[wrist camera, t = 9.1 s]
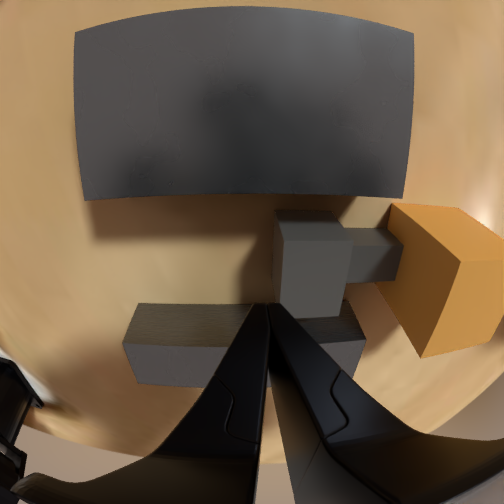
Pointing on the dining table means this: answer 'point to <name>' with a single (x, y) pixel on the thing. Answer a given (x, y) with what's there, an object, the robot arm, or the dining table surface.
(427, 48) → the dining table surface
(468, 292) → the plug
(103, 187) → the grey rectangular blocks
